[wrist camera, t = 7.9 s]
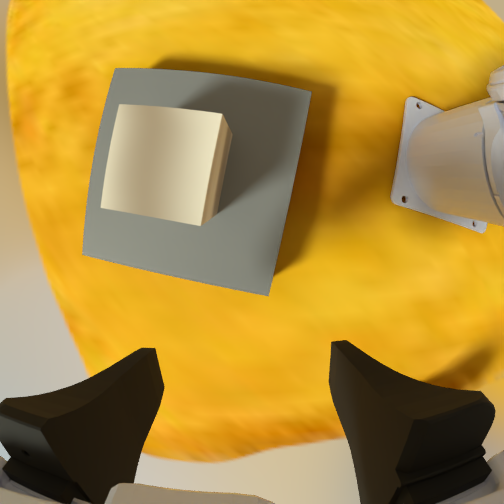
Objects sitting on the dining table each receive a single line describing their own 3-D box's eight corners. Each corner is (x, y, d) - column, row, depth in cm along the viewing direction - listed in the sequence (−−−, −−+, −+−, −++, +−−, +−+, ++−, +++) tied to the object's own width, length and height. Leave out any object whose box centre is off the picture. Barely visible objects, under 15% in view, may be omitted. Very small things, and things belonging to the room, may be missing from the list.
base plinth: (304, 104, 18) (311, 91, 15) (267, 280, 21) (268, 296, 18) (132, 81, 18) (115, 68, 15) (103, 245, 20) (82, 254, 17)
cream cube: (232, 134, 16) (222, 113, 11) (216, 214, 17) (200, 226, 12) (155, 124, 16) (119, 104, 11) (141, 200, 17) (100, 207, 12)
